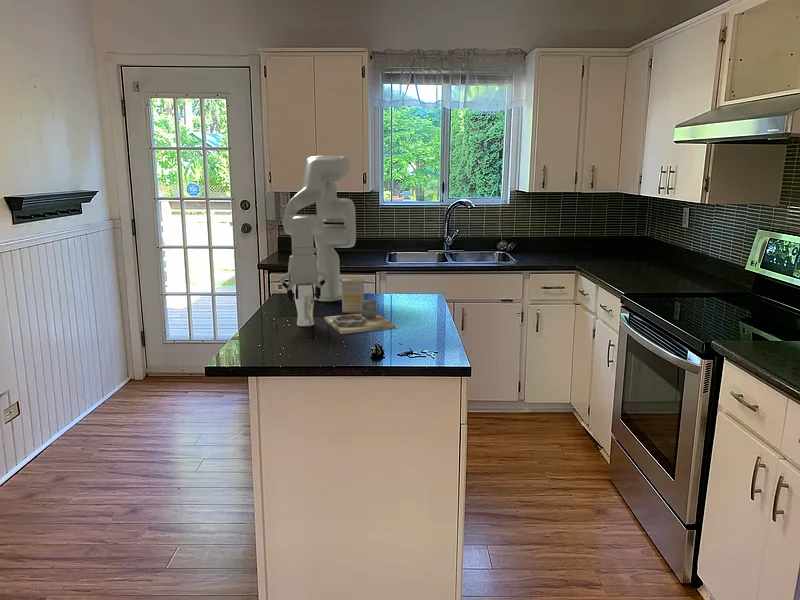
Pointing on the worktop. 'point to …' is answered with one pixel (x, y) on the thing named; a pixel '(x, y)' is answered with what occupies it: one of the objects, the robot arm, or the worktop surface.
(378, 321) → the carrier board
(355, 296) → the supplement box
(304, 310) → the beer glass
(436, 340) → the worktop surface
